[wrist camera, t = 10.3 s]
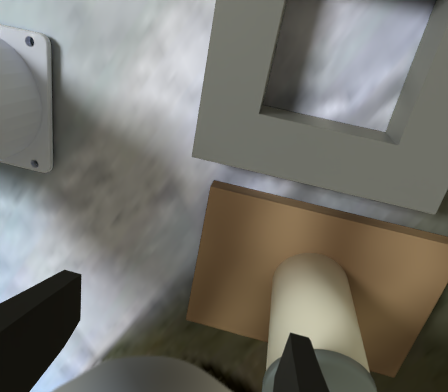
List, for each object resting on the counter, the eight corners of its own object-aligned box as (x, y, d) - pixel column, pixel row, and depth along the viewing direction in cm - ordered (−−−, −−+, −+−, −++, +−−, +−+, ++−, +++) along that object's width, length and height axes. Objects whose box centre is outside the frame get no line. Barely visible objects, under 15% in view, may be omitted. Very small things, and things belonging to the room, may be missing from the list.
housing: (203, 143, 20) (191, 156, 18) (247, -125, 15) (240, -154, 13) (418, 194, 19) (435, 214, 17) (542, -76, 14) (589, -98, 12)
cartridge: (264, 304, 23) (251, 428, 15) (280, 243, 21) (275, 352, 14) (336, 322, 22) (359, 458, 15) (360, 261, 20) (399, 384, 13)
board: (189, 309, 25) (185, 319, 24) (214, 180, 21) (210, 186, 20) (390, 365, 24) (394, 377, 23) (458, 239, 20) (466, 249, 19)
